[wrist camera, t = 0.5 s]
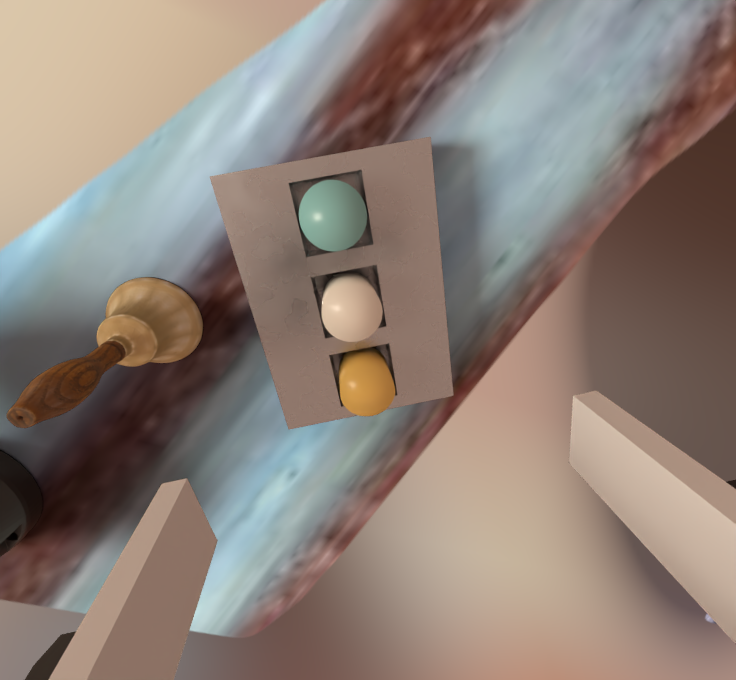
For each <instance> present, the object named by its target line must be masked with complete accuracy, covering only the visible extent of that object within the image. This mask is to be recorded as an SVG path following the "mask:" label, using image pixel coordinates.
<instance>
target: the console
mask: <svg viewBox="0 0 736 680" xmlns="http://www.w3.org/2000/svg"><path fill="white" fill-rule="evenodd" d="M210 179H211V183H212V186H213V189H214V192H215V195H216V199H217V202H218V205H219V208H220V211H221V215H222V218H223V221H224V224H225V227H226V231H227V234H228V237H229V240H230V243H231V247H232V250H233V253H234V256H235V259H236V263H237V266H238V269H239V272H240V275H241V278H242V282H243V285H244V288H245V291H246V294H247V298H248V301H249V304H250V307H251V310H252V314H253V317H254V320H255V323H256V326H257V330H258V333H259V336H260V339H261V342H262V346H263V349H264V352H265V355H266V358H267V362H268V365H269V368H270V371H271V374H272V378H273V381H274V384H275V387H276V390H277V394H278V397H279V400H280V403H281V406H282V410H283V413H284V416H285V419H286V422H287V425H288V429H294V428H299V427H303V426H308V425H313V424H318V423H323V422H328V421H333V420H338V419H342V418H347V417H352V416H357V415H356V414H354V413H352V412H350V411H349V410H348V409H346V407H345V406H344V405H343V403H342V401H341V397H340V383H339V364H340V361H341V359H342V357H343V356H344V355H345V354H346V353H347V352H348V351H353V350H358V349H363V348H368V347H372V348H375V349H376V350H378V351H379V352H381V353H382V355H383V356H384V358H385V360H386V362H387V365H388V368H389V371H390V373H391V376H392V379H393V382H394V385H395V396H394V399H393V401H392V403H391V404H390V406H389V407H388V408H387V409H391V408H396V407H401V406H406V405H410V404H415V403H420V402H425V401H430V400H435V399H440V398H445V397H449V396H453V385H452V374H451V363H450V351H449V340H448V329H447V317H446V306H445V295H444V284H443V272H442V261H441V250H440V238H439V227H438V216H437V204H436V193H435V182H434V171H433V159H432V148H431V137H426V138H421V139H415V140H410V141H404V142H399V143H393V144H388V145H382V146H377V147H371V148H365V149H360V150H354V151H349V152H343V153H338V154H332V155H327V156H321V157H316V158H310V159H305V160H299V161H293V162H288V163H282V164H277V165H271V166H266V167H260V168H255V169H249V170H244V171H238V172H233V173H227V174H222V175H216V176H210ZM325 180H339V181H342V182H345V183H347V184H349V185H350V186H352V187H353V188H354V189H355V190H356V191H357V192H358V193H359V194H360V196H361V197H362V199H363V201H364V203H365V206H366V211H367V223H366V227H365V230H364V232H363V234H362V236H361V238H360V239H359V240H358V241H357V242H356V243H355V244H354V245H353V246H351V247H349V248H348V249H345V250H342V251H336V252H335V251H326V250H323V249H320V248H318V247H317V246H315V245H314V244H312V243H311V242H310V241H309V240H308V239H307V237H306V236H305V234H304V233H303V231H302V228H301V225H300V221H299V208H300V203H301V201H302V198H303V197H304V195H305V193H306V192H307V191H308V190H309V189H310V188H311V187H312V186H313V185H315V184H317V183H319V182H321V181H325ZM343 272H355V273H359V274H361V275H363V276H364V277H366V278H367V279H368V280H369V281H370V283H371V284H372V286H373V288H374V290H375V292H376V294H377V296H378V298H379V300H380V302H381V305H382V311H383V313H382V320H381V323H380V325H379V327H378V328H377V330H376V331H375V332H374V333H373V334H372V335H371V336H369V337H368V338H366V339H364V340H361V341H357V342H346V341H342V340H340V339H337V338H336V337H334V336H333V335H331V334H330V333H329V331H328V330H327V329H326V327H325V325H324V323H323V320H322V297H323V291H324V288H325V286H326V284H327V283H328V281H329V280H330V279H331V278H333V277H334V276H336V275H337V274H340V273H343Z"/></svg>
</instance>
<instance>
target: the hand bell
mask: <svg viewBox="0 0 736 680" xmlns="http://www.w3.org/2000/svg"><path fill="white" fill-rule="evenodd" d="M202 332H203V322H202V317H201V314H200V311H199V309H198V307H197V305H196V304H195V302H194V301H193V300H192V299H191V297H190V296H189V295H188V294H187V293H186V292H185V291H183V290H182V289H181V288H180V287H178V286H176V285H174V284H172V283H170V282H168V281H165V280H162V279H157V278H150V277H144V278H136V279H132V280H129V281H127V282H125V283H123V284H122V285H120V286H119V287H118V288H116V289H115V291H114V292H113V293H112V295H111V296H110V298H109V300H108V303H107V307H106V319H105V320H104V321H103V322H102V323H101V324H100V326H99V328H98V330H97V343H98V346H99V347H98V348H96V349H95V350H94V351H92V352H91V353H90V354H88V355H87V356H85V357H82V358H77V359H73V360H69V361H66V362H63V363H60V364H58V365H56V366H54V367H52V368H50V369H48V370H46V371H45V372H43V373H42V374H40V375H39V376H37V377H36V378H35V379H34V380H32V381H31V382H30V383H29V385H28V386H27V387H26V388H25V389H24V391H23V392H22V393H21V395H20V397H19V399H18V400H17V402H16V403H15V404H14V405H13V406H12V407H11V408H10V409H9V411H8V413H7V419H8V420H9V421H10V422H11V423H12V424H13V425H14V426H16V427H20V428H28V427H31V426H33V425H35V424H37V423H39V422H41V421H44V420H47V419H50V418H53V417H56V416H59V415H61V414H63V413H66V412H68V411H69V410H71V409H73V408H74V407H76V406H77V405H79V404H80V403H81V402H82V401H84V400H85V399H86V398H87V397H88V396H89V395H90V394H91V393H92V391H93V390H94V389H95V388H96V386H97V385H98V383H99V381H100V379H101V376H102V375H103V373H104V372H106V371H107V370H108V369H109V368H111V367H112V366H114V365H115V364H120V365H123V366H133V367H134V366H140V365H143V364H146V363H148V362H154V363H169V362H175V361H178V360H181V359H183V358H185V357H186V356H188V355H189V354H191V353H192V352H193V351H194V350H195V349H196V347H197V346H198V344H199V342H200V340H201V337H202Z"/></svg>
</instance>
